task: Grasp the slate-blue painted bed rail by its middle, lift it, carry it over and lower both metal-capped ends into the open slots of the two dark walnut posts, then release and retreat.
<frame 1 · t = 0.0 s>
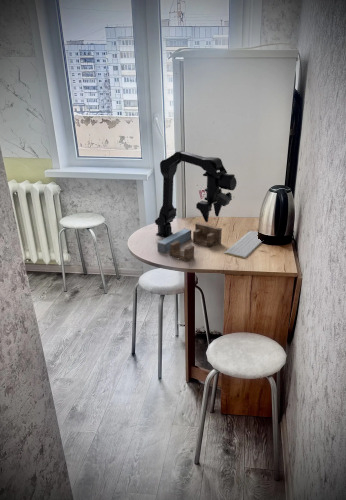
hand: (211, 219, 181), 15 cm above the table, fingers open, 9 cm apart
baseboard molding: (245, 245, 191), on the table
bed rail: (174, 244, 191), on the table
headboard posts: (193, 249, 185), on the table
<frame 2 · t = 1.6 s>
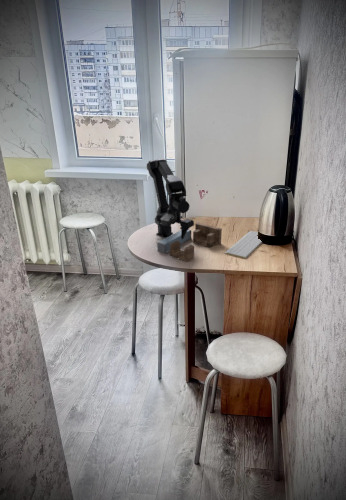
hand: (174, 236, 189), 4 cm above the table, fingers open, 9 cm apart
nothing on the table moved.
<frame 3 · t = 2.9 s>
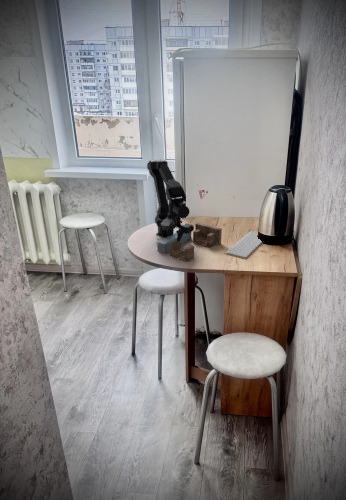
hand: (174, 241, 190), 2 cm above the table, fingers closed on bed rail, 4 cm apart
bed rail: (174, 244, 191), on the table, touching gripper
everything else where it was.
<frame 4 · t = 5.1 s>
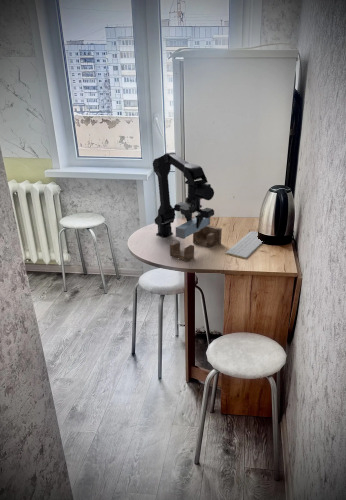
hand: (193, 227, 180), 12 cm above the table, fingers closed on bed rail, 4 cm apart
bed rail: (193, 230, 180), point 10 cm above the table, touching gripper
everything else where it was.
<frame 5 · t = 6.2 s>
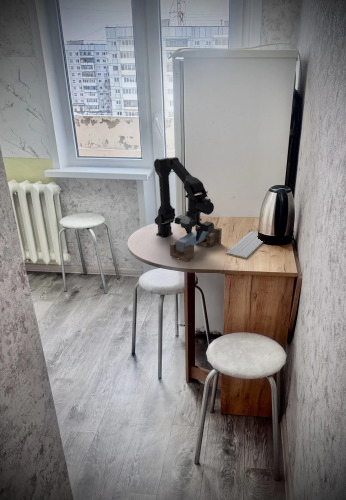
hand: (193, 239, 183), 5 cm above the table, fingers closed on bed rail, 4 cm apart
bed rail: (193, 242, 183), point 4 cm above the table, touching gripper
everything else where it was.
when the fingers open (4 cm above the table, at t = 7.1 s): bed rail stays where it is, resting on headboard posts.
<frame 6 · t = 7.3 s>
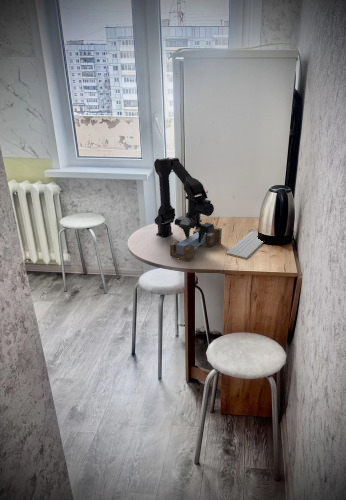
hand: (193, 241, 183), 4 cm above the table, fingers open, 6 cm apart
bed rail: (193, 246, 184), point 2 cm above the table, touching headboard posts
everything else where it was.
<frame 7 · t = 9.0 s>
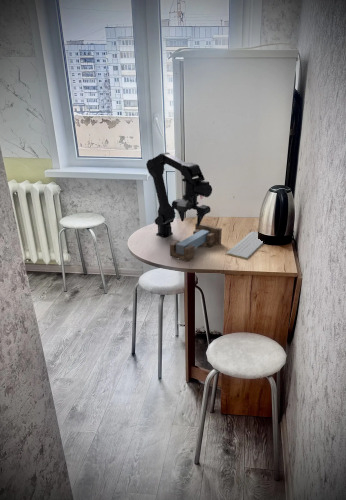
hand: (190, 223, 185), 11 cm above the table, fingers open, 9 cm apart
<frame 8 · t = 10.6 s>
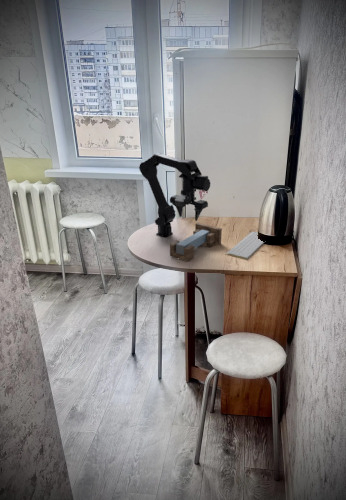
hand: (188, 218, 189), 12 cm above the table, fingers open, 9 cm apart
at the end: bed rail 0.1 cm off-centre on the headboard posts, point 2.0 cm above the headboard posts's base; bed rail tilted 0°; the gripper is holding nothing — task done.
